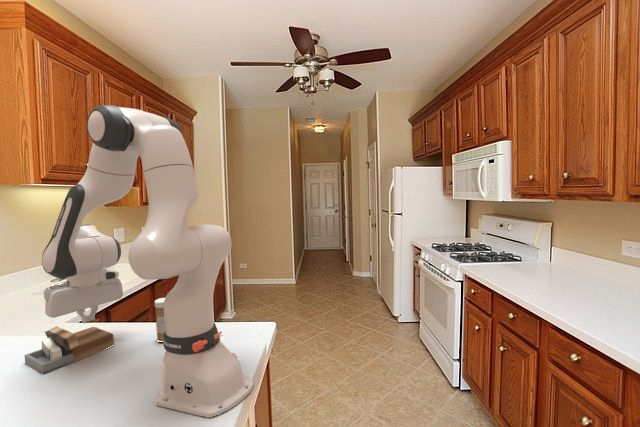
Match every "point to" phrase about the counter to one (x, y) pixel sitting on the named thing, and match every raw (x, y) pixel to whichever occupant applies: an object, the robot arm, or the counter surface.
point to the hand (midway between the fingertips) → (88, 321)
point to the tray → (47, 361)
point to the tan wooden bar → (62, 338)
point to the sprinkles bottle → (160, 318)
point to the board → (91, 342)
